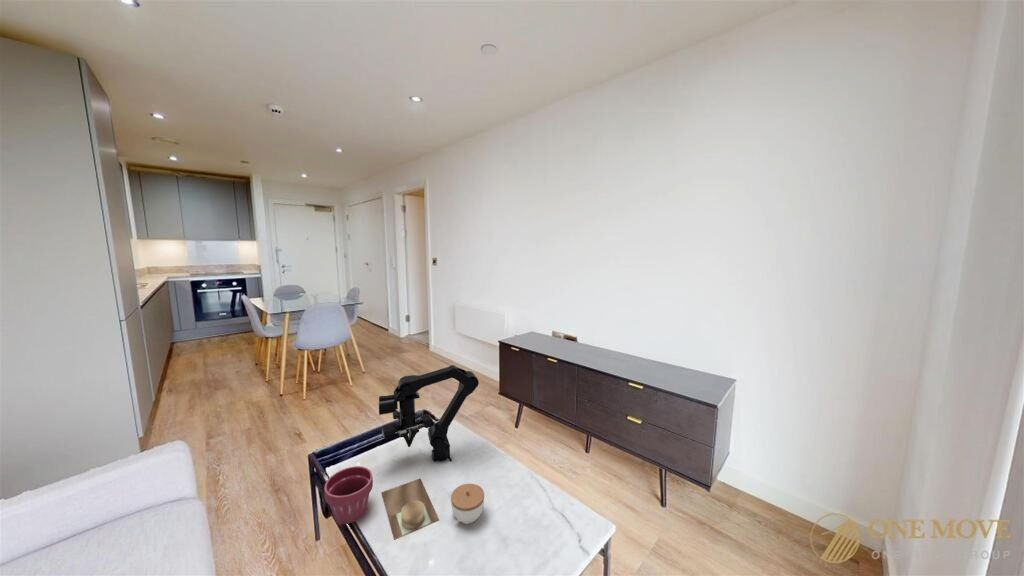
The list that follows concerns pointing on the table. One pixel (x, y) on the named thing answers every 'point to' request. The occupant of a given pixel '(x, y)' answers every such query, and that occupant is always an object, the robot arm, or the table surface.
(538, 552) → the table surface
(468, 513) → the lidded jar
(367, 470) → the plant pot
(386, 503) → the walnut board
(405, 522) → the oak puck
